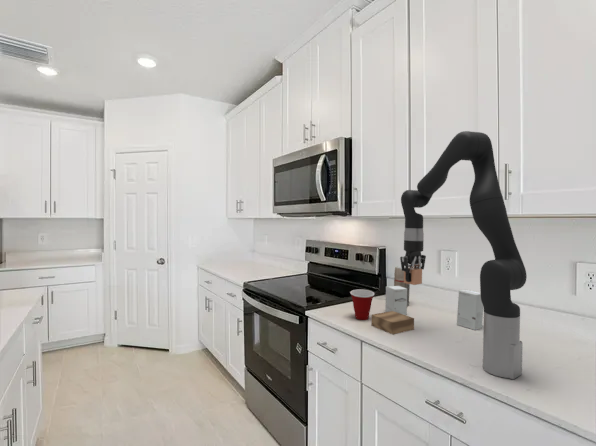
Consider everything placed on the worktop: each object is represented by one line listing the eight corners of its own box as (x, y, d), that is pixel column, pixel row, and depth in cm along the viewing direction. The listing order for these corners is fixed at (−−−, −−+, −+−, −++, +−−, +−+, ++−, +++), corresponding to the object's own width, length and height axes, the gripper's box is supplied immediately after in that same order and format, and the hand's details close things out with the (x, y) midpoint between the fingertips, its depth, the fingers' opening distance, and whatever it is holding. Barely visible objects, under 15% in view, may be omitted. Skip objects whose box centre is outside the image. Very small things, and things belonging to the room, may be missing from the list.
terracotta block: (421, 283, 135) (422, 268, 135) (414, 285, 132) (414, 270, 132) (411, 281, 139) (411, 267, 139) (403, 282, 136) (404, 268, 136)
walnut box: (413, 330, 135) (414, 318, 135) (392, 335, 130) (392, 322, 130) (392, 322, 146) (392, 310, 146) (371, 326, 140) (371, 314, 140)
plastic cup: (351, 321, 145) (351, 294, 145) (348, 314, 156) (349, 289, 156) (376, 322, 144) (376, 295, 144) (372, 315, 155) (372, 289, 155)
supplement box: (393, 316, 153) (393, 289, 153) (385, 312, 161) (385, 286, 160) (407, 315, 155) (407, 288, 155) (398, 311, 163) (398, 285, 162)
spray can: (398, 301, 181) (398, 265, 180) (412, 304, 175) (412, 266, 174) (389, 304, 175) (390, 266, 175) (404, 307, 169) (404, 268, 169)
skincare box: (456, 325, 142) (456, 290, 141) (464, 322, 145) (464, 288, 145) (476, 330, 134) (476, 294, 134) (484, 328, 138) (484, 292, 138)
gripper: (410, 240, 128) (409, 284, 128) (432, 239, 136) (431, 280, 136) (394, 239, 134) (393, 281, 134) (416, 238, 142) (415, 277, 143)
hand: (412, 280), depth 135 cm, fingers closed on terracotta block, 5 cm apart
